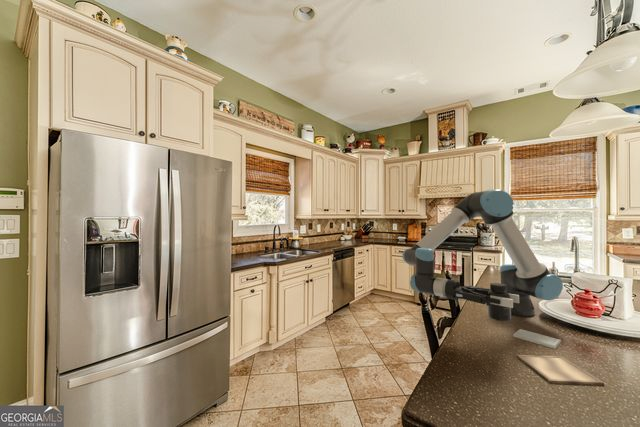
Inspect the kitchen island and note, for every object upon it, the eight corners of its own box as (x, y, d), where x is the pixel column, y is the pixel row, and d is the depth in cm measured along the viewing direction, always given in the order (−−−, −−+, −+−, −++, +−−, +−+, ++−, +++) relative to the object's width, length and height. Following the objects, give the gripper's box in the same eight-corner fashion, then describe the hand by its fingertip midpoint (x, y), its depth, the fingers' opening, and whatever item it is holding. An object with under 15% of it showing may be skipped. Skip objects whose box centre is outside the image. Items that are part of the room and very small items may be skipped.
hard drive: (513, 333, 104) (555, 345, 94) (520, 328, 109) (560, 339, 99) (513, 338, 104) (555, 350, 94) (520, 332, 109) (560, 343, 99)
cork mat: (561, 358, 87) (561, 356, 87) (603, 385, 73) (603, 382, 73) (516, 357, 88) (516, 354, 88) (549, 382, 74) (549, 380, 74)
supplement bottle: (507, 315, 97) (506, 282, 97) (514, 322, 90) (513, 287, 91) (485, 313, 99) (484, 281, 99) (490, 320, 93) (490, 285, 93)
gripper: (458, 293, 115) (523, 306, 97) (436, 303, 102) (507, 319, 85) (457, 275, 115) (523, 285, 97) (436, 283, 102) (506, 296, 85)
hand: (515, 301), depth 91 cm, fingers closed on supplement bottle, 7 cm apart
